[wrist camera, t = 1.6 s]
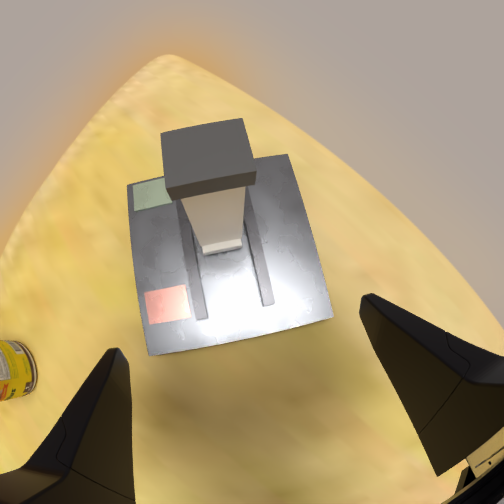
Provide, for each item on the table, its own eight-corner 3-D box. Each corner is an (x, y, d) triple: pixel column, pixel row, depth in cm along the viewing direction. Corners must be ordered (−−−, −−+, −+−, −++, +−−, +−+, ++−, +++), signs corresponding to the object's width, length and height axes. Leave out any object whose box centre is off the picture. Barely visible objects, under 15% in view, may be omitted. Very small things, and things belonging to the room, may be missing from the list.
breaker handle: (247, 246, 22) (257, 173, 11) (199, 256, 21) (165, 190, 11) (238, 209, 22) (242, 116, 12) (192, 218, 22) (160, 131, 11)
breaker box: (326, 317, 23) (338, 316, 20) (156, 353, 21) (144, 357, 19) (284, 165, 26) (289, 147, 23) (134, 194, 25) (123, 179, 22)
